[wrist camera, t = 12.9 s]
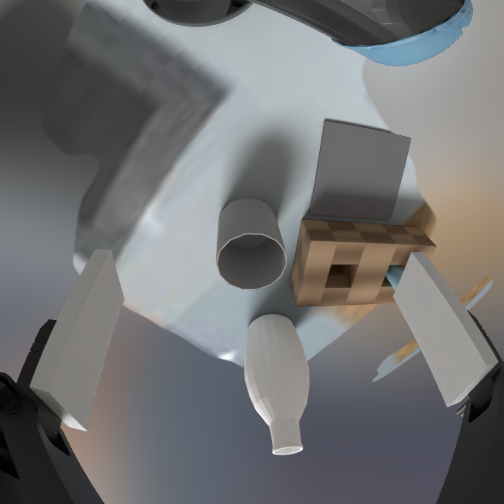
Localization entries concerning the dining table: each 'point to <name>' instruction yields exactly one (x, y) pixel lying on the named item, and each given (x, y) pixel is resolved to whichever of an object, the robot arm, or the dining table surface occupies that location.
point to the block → (351, 261)
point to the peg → (394, 275)
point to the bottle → (277, 378)
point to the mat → (358, 172)
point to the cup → (249, 245)
